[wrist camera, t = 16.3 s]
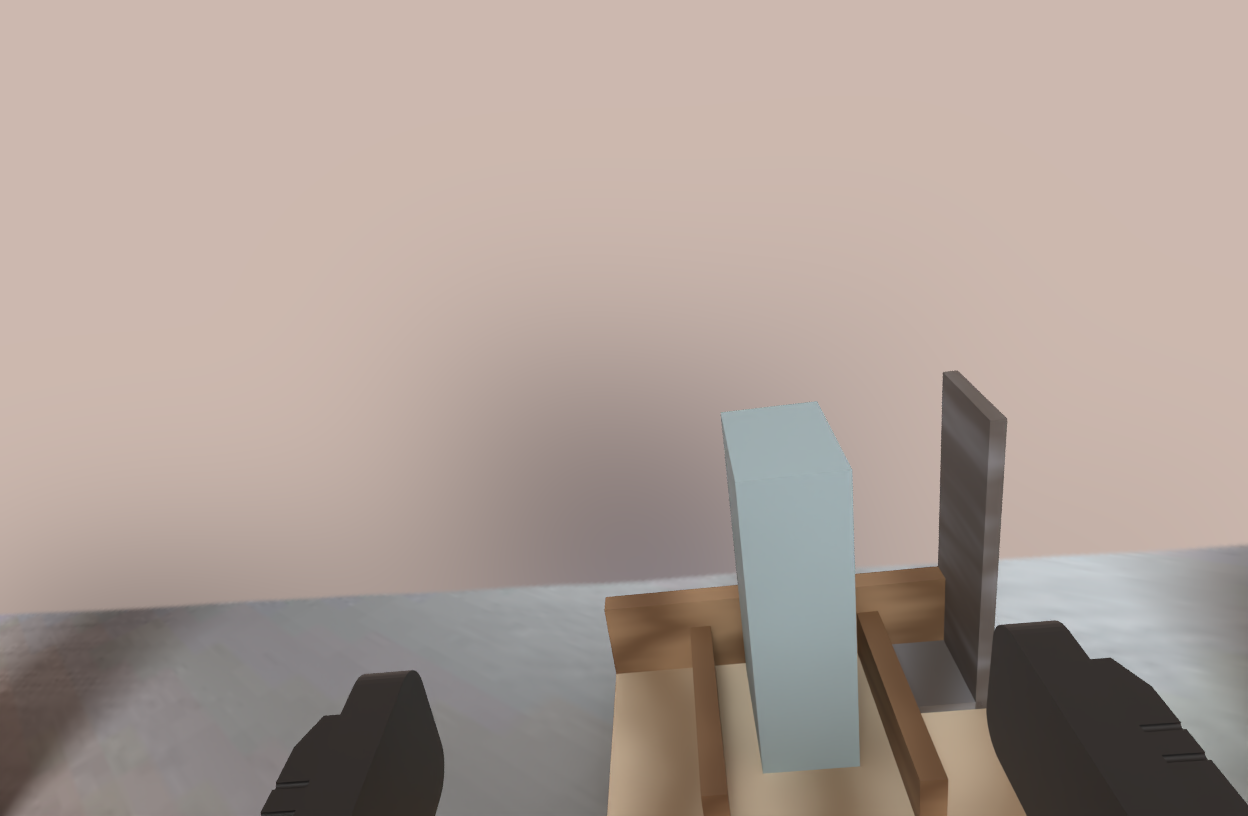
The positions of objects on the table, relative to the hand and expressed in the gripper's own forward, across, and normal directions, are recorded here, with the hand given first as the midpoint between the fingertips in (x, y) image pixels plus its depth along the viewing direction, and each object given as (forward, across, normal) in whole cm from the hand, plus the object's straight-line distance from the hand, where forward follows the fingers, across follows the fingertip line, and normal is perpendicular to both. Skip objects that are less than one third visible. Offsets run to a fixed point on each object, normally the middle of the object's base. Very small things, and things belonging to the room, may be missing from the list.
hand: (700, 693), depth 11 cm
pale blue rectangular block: (+18, -4, +20) cm, 27 cm away
